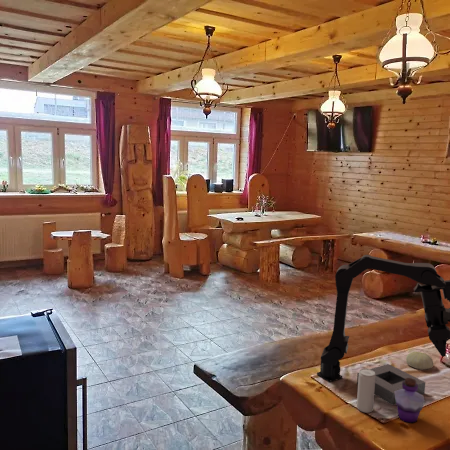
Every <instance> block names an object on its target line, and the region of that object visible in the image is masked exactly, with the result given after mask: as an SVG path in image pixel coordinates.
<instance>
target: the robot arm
mask: <svg viewBox="0 0 450 450" xmlns="http://www.w3.org/2000/svg"><path fill="white" fill-rule="evenodd" d="M366 270H375V271H379V272H384V273H388V274H394V275H398V276H403V277H406V278H409V279H411V280H412V281H414V282H417V283H416V286H414V287H413V291H414V293H420V296H421V299H422V300H421V301H422V305H423V310H424V320H425V323H426V327H427V334H428V339H429V341H430V342H431V343H432V344H433V346H434V348H435V349H436V350H437V352H438V354H440V357H446V354H447V353H446V352H447V342H448V341H449V340H450V327H449V326H447V325H449V323H450V307H448V308H446V307H445V304H444V303H443V299H444V300H446V301H448V302H449V303H450V279H447V280H446V279H444V278H443V276H441V275H440V274H438V271H437V270H436V268H435V267H434V265H433V264H431V263H429V262H411V263H409V262H403V261H397V260H392V259H388V258H383V257H378V256H377V257H376V256H373V255H370V254H363V256H361V257H360V258H358V259H356V260H354V261H351V262H350V263H349V264H343V265H340V266H339V267H338V269H337V270H336V272H335V275H334V278H335V287H336V288H335V289H336V302H335V309H334V311H335V312H334V321H333V328H332V329H333V330H332V335H331V336H330V339H329V344H328V345H327V346H325V347H324V348H323V349H322V350H323V351H322V352H321V355H320V368H319V369H320V371H318V372H316V375H317V376H319V377H320V378H321V379H324V380H325V381H326V382H329V383H330V382H333V381H336V380H340V379H343V375H341V361H340V360H341V359H343V358H344V356H345V354H347V353H348V349H349V339H350V335H346V332H345V331H346V321H347V312H348V303H349V295H350V291H351V290H350V289H351V286H352V283H353V280H354V279H355V278H357V276H359V275H361V274H362V273H363V272H364V271H366ZM441 290H442V292H441ZM442 294H443V297H442ZM442 298H443V299H442Z"/></svg>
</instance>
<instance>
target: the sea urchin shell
mask: <svg viewBox="0 0 450 450" xmlns="http://www.w3.org/2000/svg"><path fill="white" fill-rule="evenodd" d="M405 362H406V364H407V365H408V366H410V367H412V368H414V369H417V370H421V371H422V370H423V371H424V370H430V369H432V368H433V366H434V360H433V358H432V357H431V356H430V355H429V354H428V353H425V352H421V351H411V352H409V353H408V354H407V355H406V357H405Z"/></svg>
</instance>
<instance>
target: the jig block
mask: <svg viewBox="0 0 450 450" xmlns="http://www.w3.org/2000/svg"><path fill="white" fill-rule="evenodd" d="M370 370H372V371H374V372H375V390H374V396H376V397H378V398H380V399H381V398H382V400H383V401H385V402H386V401H387V404H390V405H392V406H394V405H395V406H396V403H395V392H394V391H397V390H400V389H403V387H402V382H403V381H405V379H406V378H413V379H415V380H416V384H418V391H415V392H417V393H419V394H421V395H424V394H425V391H426V381H423V380H422V379H420V378H418V377H415V376H414V375H412V374H410V373H408V372H406V371H405V370H404V371H403V370H401V369H399V368H397V367H396V366H394V365H391V364H389V363H386V364H383V365H379V366H376V367H373V368H370ZM356 376H357V378H356V379H357V380H356V385H358V378H359V372H357V375H356Z"/></svg>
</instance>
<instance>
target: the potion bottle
mask: <svg viewBox="0 0 450 450" xmlns="http://www.w3.org/2000/svg"><path fill="white" fill-rule="evenodd" d="M402 387H403V389H400V390H397V391H394V392H395V403H396V404H395V406H396V407H397V417H398V416H399V418H400V419H399V418H398V419H399V420H400V421H402V422H404V423H406V424H415V423H418V419H419V416H420V412H421V411H422V410H423V407H424V404H425V397H424V394H422V395H421V394H419V393H417V392H415V391H418V384H416V380H415V379H413V378H406V379H405V381H403V382H402Z"/></svg>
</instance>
